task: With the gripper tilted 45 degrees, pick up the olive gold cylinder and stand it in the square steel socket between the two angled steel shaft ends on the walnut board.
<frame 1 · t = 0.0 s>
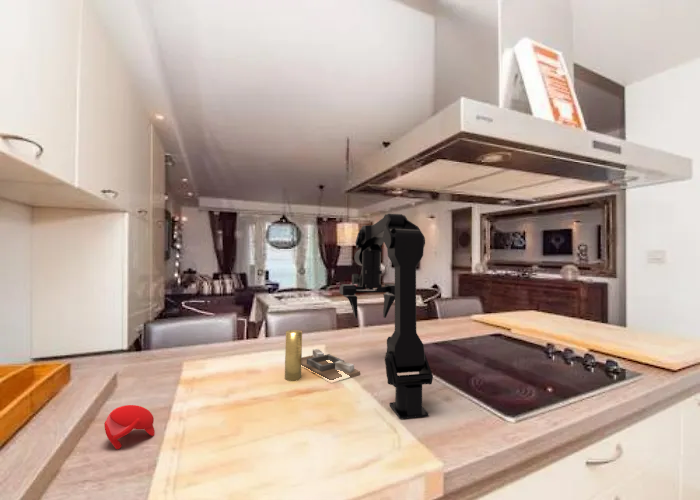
hand: (370, 317, 96), 15 cm above the worktop, tool pointing down, fingers open, 9 cm apart
olive gold cylinder: (292, 377, 85), on the worktop
shaft rig: (325, 368, 93), on the worktop
red curved piece: (129, 440, 55), on the worktop
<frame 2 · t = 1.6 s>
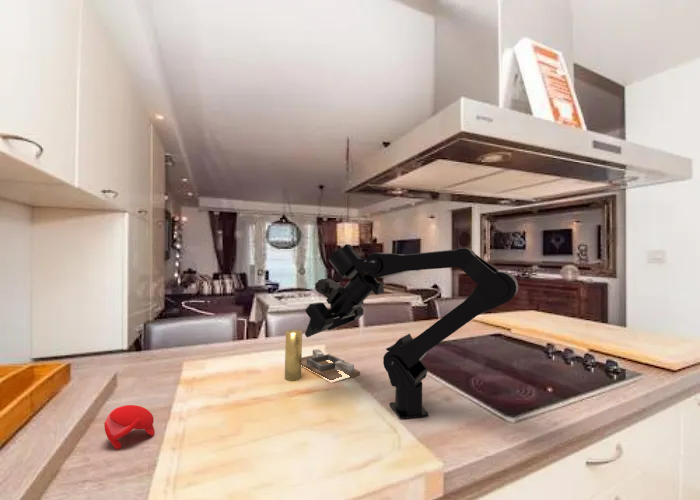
hand: (317, 332, 81), 13 cm above the worktop, tool tilted 45°, fingers open, 9 cm apart
nothing on the worktop moved.
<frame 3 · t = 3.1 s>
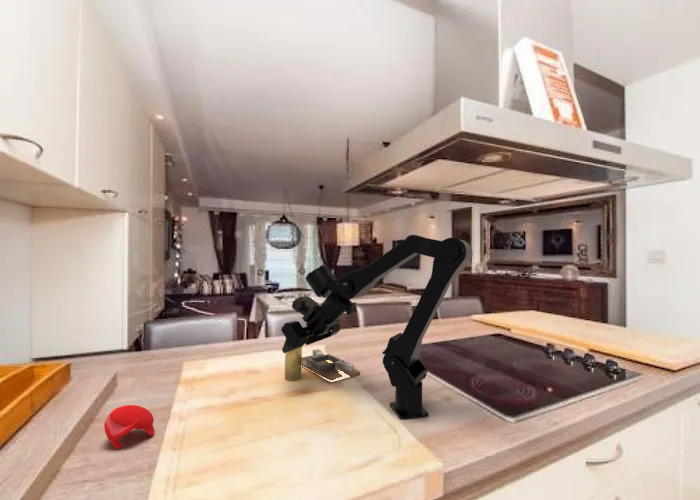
hand: (295, 347, 85), 8 cm above the worktop, tool tilted 45°, fingers open, 9 cm apart
nothing on the worktop moved.
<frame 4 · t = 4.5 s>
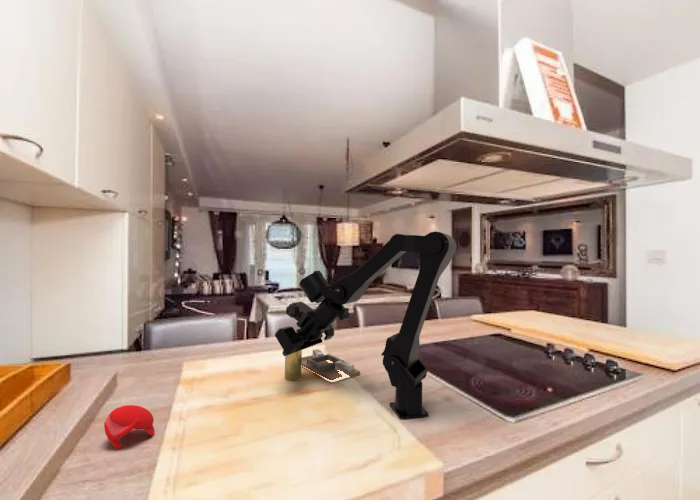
hand: (289, 352, 86), 7 cm above the worktop, tool tilted 45°, fingers closed on olive gold cylinder, 4 cm apart
olive gold cylinder: (292, 377, 85), on the worktop, touching gripper
everything else where it was.
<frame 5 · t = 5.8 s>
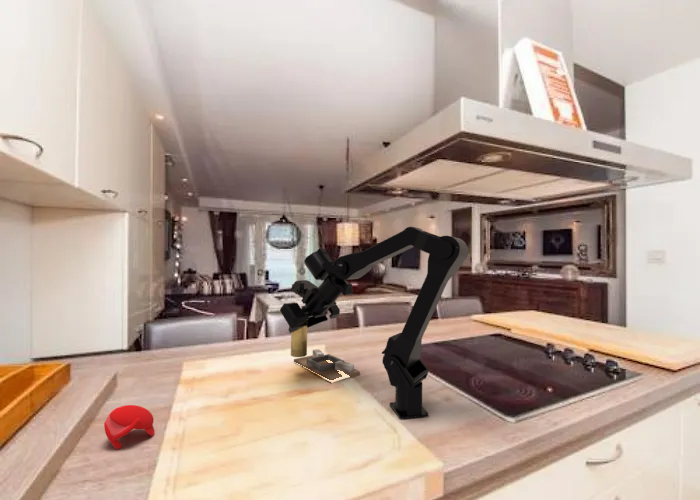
hand: (295, 329, 87), 12 cm above the worktop, tool tilted 45°, fingers closed on olive gold cylinder, 4 cm apart
olive gold cylinder: (298, 354, 86), point 6 cm above the worktop, touching gripper
everything else where it was.
when the fingers open (9 cm above the worktop, at t = 7.6 s): olive gold cylinder drops 1 cm, resting on shaft rig.
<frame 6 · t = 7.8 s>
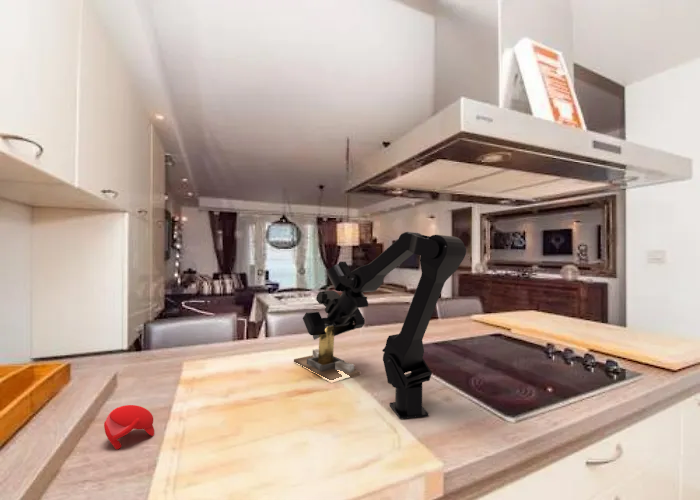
hand: (323, 336, 94), 9 cm above the worktop, tool tilted 45°, fingers open, 6 cm apart
olive gold cylinder: (325, 364, 93), point 1 cm above the worktop, touching shaft rig
everything else where it was.
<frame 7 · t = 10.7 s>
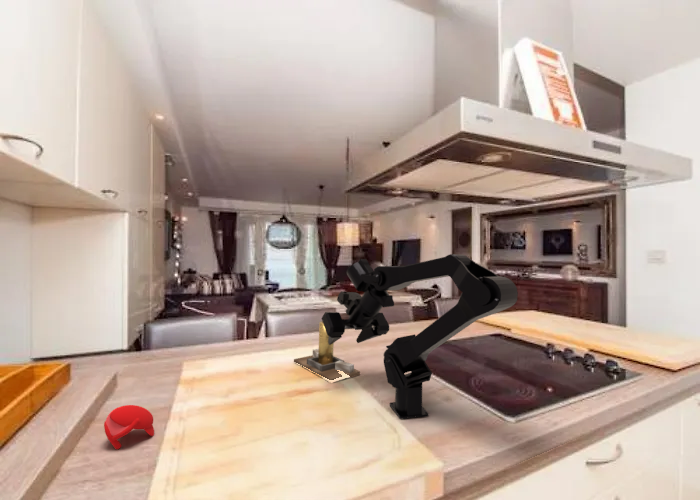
hand: (343, 342, 86), 9 cm above the worktop, tool tilted 40°, fingers open, 9 cm apart
nothing on the worktop moved.
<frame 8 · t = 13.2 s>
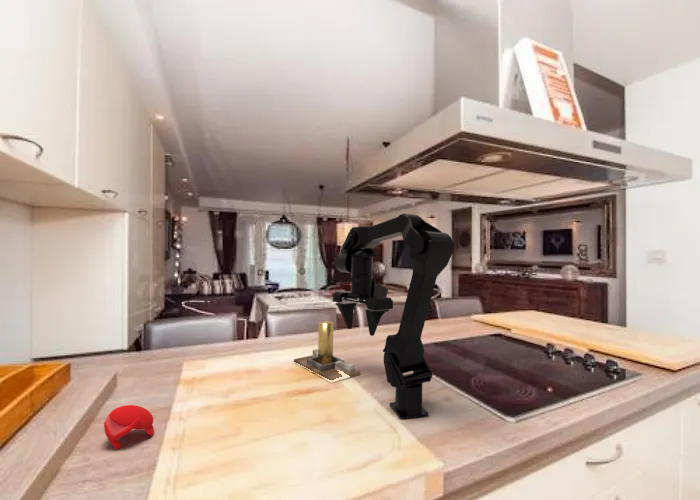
hand: (360, 332, 84), 13 cm above the worktop, tool pointing down, fingers open, 9 cm apart
nothing on the worktop moved.
at the end: olive gold cylinder 0.1 cm off-centre on the shaft rig, point 1.0 cm above the shaft rig's base; olive gold cylinder tilted 1°; the gripper is holding nothing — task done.
